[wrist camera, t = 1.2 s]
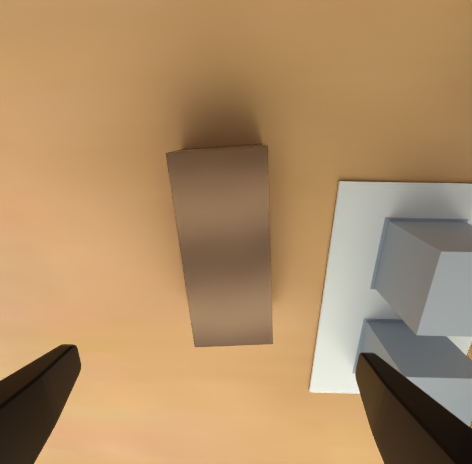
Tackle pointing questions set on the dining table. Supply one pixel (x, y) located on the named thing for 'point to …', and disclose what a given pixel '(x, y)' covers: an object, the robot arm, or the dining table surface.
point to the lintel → (224, 242)
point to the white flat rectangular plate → (370, 267)
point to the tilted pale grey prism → (428, 276)
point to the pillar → (425, 363)
